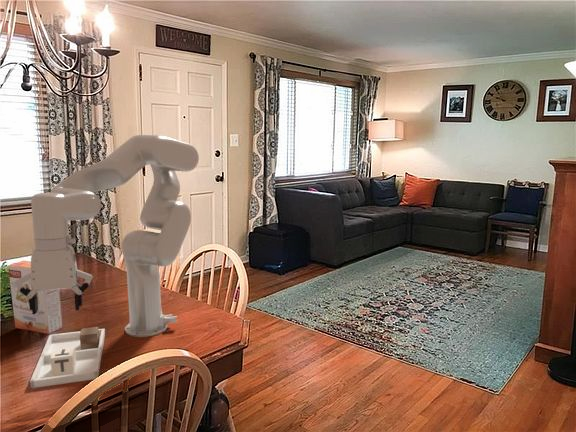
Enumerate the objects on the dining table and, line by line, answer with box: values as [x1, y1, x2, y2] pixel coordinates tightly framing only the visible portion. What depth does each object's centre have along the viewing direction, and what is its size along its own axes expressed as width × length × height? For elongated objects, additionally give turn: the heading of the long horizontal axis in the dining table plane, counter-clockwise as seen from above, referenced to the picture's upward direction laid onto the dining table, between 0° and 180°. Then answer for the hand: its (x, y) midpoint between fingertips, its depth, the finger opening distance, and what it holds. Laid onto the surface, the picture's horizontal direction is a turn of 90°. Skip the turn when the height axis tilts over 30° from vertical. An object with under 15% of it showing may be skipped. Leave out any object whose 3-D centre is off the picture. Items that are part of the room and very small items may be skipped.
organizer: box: [29, 328, 106, 389], centre depth 125 cm, size 15×26×2 cm, turn 18°
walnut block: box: [80, 326, 100, 350], centre depth 132 cm, size 4×4×4 cm
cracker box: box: [7, 260, 64, 335], centre depth 142 cm, size 14×6×21 cm, turn 69°
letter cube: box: [50, 347, 76, 377], centre depth 118 cm, size 5×5×5 cm
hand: (56, 310), depth 115 cm, fingers open, 9 cm apart
